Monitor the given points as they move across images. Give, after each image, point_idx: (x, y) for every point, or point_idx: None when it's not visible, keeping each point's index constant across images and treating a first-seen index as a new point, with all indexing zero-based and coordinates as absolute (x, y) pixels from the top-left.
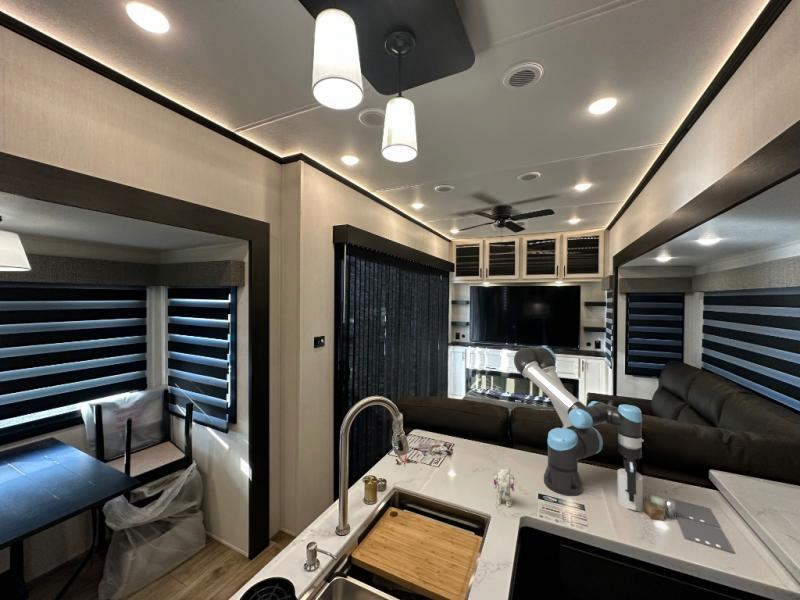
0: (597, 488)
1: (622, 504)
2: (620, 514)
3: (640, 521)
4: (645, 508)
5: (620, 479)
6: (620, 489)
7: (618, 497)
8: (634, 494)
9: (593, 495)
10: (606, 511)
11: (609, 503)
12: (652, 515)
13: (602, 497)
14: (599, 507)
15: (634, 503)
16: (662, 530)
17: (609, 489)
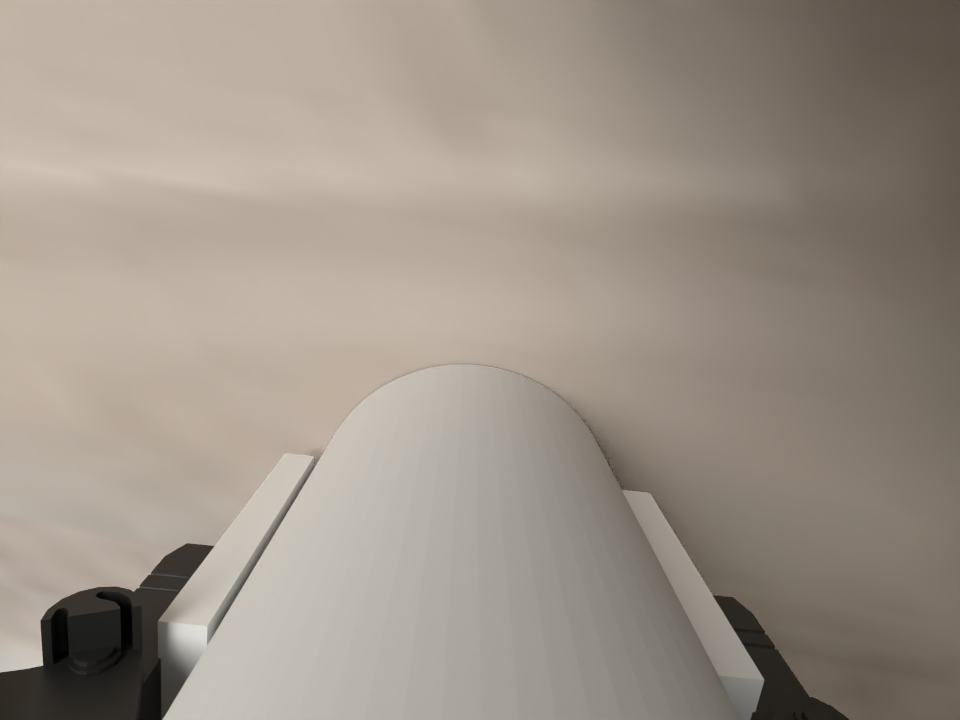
0: (741, 116)
1: (353, 411)
2: (123, 337)
3: (103, 541)
4: None
5: (251, 663)
6: (335, 488)
7: (426, 391)
8: None
9: (476, 9)
10: (86, 152)
11: (345, 236)
12: None
13: (477, 155)
14: (141, 58)
15: None
16: None
17: (773, 305)
